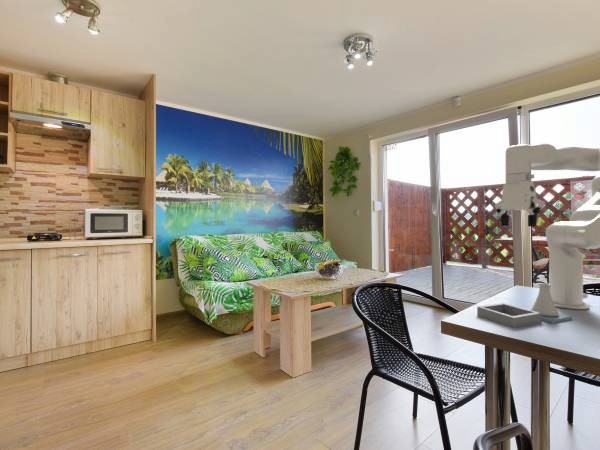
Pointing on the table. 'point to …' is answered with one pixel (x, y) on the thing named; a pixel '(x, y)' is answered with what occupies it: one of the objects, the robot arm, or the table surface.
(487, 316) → the grey square tray
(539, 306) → the flask
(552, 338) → the table surface
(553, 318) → the board
